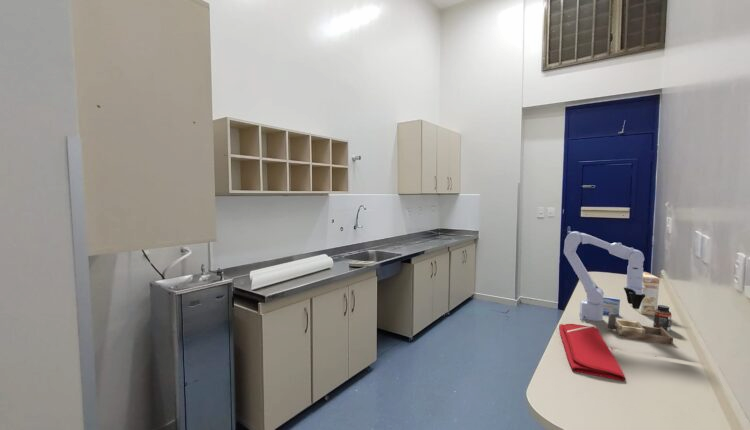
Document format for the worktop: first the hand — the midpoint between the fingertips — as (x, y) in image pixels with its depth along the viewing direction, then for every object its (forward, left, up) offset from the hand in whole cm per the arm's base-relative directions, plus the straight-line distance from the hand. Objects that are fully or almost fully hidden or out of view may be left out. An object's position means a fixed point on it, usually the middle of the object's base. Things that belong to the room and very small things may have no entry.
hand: (633, 306), depth 155 cm
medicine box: (-5, +18, -11) cm, 22 cm away
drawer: (-5, -11, -9) cm, 15 cm away
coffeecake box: (+13, +33, -11) cm, 37 cm away
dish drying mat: (-23, -35, -11) cm, 44 cm away
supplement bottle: (+12, +3, -11) cm, 16 cm away
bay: (0, -11, -10) cm, 15 cm away
